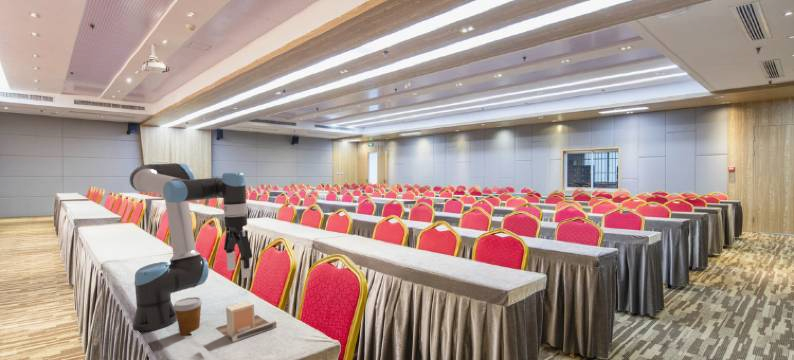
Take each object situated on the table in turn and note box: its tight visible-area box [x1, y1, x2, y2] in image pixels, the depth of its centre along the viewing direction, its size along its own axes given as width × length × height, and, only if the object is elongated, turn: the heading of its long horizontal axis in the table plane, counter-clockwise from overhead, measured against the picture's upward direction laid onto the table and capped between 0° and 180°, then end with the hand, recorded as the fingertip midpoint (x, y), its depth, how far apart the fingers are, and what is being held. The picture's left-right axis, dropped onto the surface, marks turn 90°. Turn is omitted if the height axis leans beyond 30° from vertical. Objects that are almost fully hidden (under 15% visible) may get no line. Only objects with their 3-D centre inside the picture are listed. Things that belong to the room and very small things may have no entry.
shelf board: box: [215, 314, 278, 343], centre depth 145 cm, size 17×16×4 cm
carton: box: [225, 300, 255, 338], centre depth 141 cm, size 8×5×10 cm, turn 134°
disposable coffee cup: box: [173, 296, 203, 337], centre depth 146 cm, size 10×10×12 cm
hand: (238, 273), depth 141 cm, fingers open, 13 cm apart
